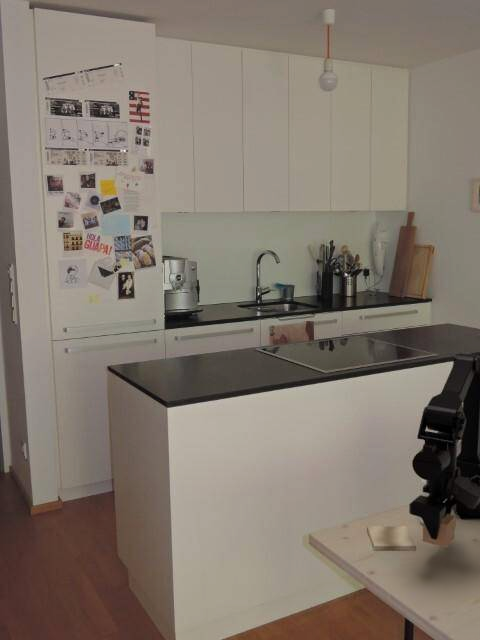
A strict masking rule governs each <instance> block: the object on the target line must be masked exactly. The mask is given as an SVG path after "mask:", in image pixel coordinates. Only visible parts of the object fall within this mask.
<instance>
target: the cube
mask: <svg viewBox="0 0 480 640" xmlns="http://www.w3.org/2000/svg"><path fill="white" fill-rule="evenodd" d="M455 531H456V515H453V514H451V515H450V514H447V515H446V516H445V517H444V518H443V519H441V523H440V528H439V533H438V537H437V539H436V540H435V539H432V538H431V537H430V534H429V532H428V530H427V528H426V526H425V524H424V522H423V524H422V542H425V543H429V544H431V545H435V546H439V547H442V548H445V549H446V548H448V547H449V545H450V544H451V543H452V542H453V540H454V539H455V537H456V535H455Z"/></svg>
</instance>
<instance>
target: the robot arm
mask: <svg viewBox="0 0 480 640" xmlns="http://www.w3.org/2000/svg"><path fill="white" fill-rule="evenodd" d="M427 430H428V431H427ZM416 437H417V439H418V440H422V441H424V444H422V445H423V446H422V448H421V449H420V450H419V451H418V452H417V453H416V454H415V455H414V456H413V459H412V462H411V463H412V465H411V466H412V468H413V471H414V474H416V475H417V476H418V477H419V478H421V480H422V479H424V480H427V481H426V485H425V486H424V487H423V492H426V493H429V496H428V497H426V496H422V495H421V494H420V495H418V496H417V497H416V498H414V499H413V500H412V501H411V502H410V503H409V510H408V511H409V512H408V513H409V514H410V515H412V516H415V517H419V518H420V517H421V518H422V520H423V522H424V524H425V526H426V528H427V530H428V532H429V534H430V537H431V538H432V539H435V540H436V539H437V537H438V533H439V528H440V523H441V519H443V518H444V517H445V516H446V515H447V514H450V515H452V512H453V511H454V512H455V513H456V515H457V517H459V519H461V520H475V519H476V520H479V519H480V355H477V354H473V353H472V354H471V353H462V352H459V353H455V354H454V355H453V363H452V368H451V370H450V373H449V374H448V376H447V379H446V381H445V383H444V385H443V388H442V389H441V392H440V393H438V394H436V395H433V396H432V397H431V399H430V400H429V402H428V404H427V405H426V406H425V407H424V408H423V411H422V416H421V420H420V424H419V428H418V432H417V436H416ZM459 441H460V452H459V453H458V443H459ZM457 454H458V455H457Z"/></svg>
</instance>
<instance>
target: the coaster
mask: <svg viewBox="0 0 480 640" xmlns="http://www.w3.org/2000/svg"><path fill="white" fill-rule="evenodd" d="M366 531H367V533H368V536H369V539H370V542H371V545H372V548H373V550H374V551H416V549H417V546H416V544H415V542H414V539H413V538H412V536H411V534H410V531H409V530H408V528H407V526H405V525H403V526H400V525H398V526H392V525H391V526H389V525H388V526H387V525H386V526H384V525H383V526H382V525H381V526H375V525H374V526H371V525H370V526H366Z"/></svg>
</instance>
